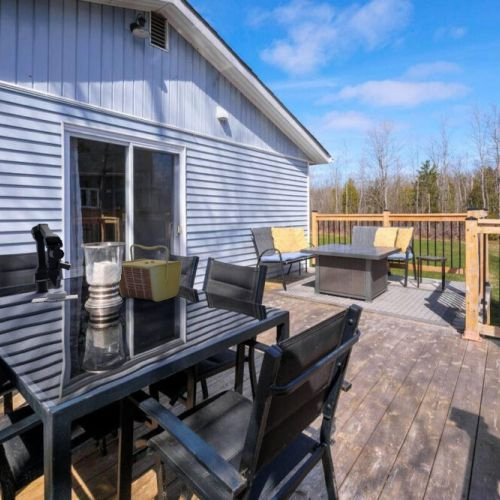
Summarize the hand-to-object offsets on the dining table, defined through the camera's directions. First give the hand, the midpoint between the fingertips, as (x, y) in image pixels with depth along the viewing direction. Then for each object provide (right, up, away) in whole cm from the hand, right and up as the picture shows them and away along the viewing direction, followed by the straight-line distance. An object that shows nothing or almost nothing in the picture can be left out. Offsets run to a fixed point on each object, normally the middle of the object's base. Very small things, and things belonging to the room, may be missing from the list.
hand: (55, 285), depth 189 cm
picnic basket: (+51, -7, +6) cm, 52 cm away
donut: (-3, -5, +5) cm, 7 cm away
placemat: (0, -8, +1) cm, 8 cm away
